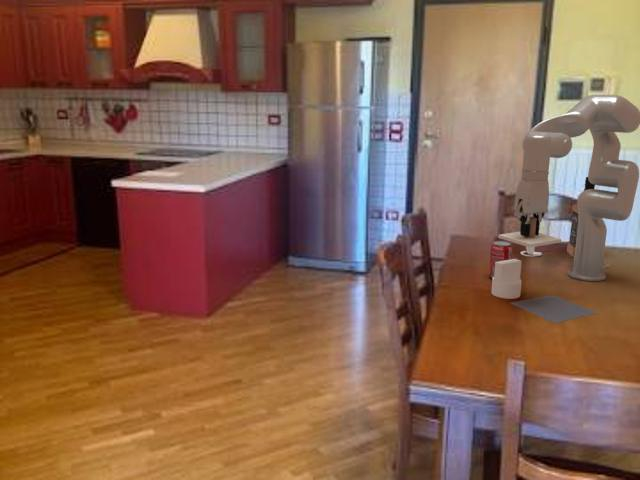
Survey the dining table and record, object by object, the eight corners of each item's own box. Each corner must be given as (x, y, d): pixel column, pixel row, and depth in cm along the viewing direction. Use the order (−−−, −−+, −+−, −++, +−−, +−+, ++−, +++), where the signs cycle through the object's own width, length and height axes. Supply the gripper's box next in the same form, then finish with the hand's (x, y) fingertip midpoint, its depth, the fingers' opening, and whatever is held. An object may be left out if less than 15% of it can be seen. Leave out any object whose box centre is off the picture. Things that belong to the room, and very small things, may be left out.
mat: (551, 297, 193) (551, 294, 193) (598, 316, 177) (598, 312, 177) (509, 306, 185) (509, 303, 185) (554, 326, 170) (554, 322, 169)
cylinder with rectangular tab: (505, 303, 188) (508, 267, 185) (485, 294, 195) (487, 259, 192) (526, 299, 192) (529, 263, 189) (505, 290, 200) (508, 256, 197)
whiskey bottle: (566, 251, 248) (574, 174, 240) (590, 252, 247) (600, 175, 239) (572, 257, 238) (581, 178, 230) (598, 259, 237) (608, 179, 229)
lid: (528, 233, 192) (530, 212, 191) (560, 242, 181) (563, 219, 179) (498, 237, 186) (499, 216, 185) (530, 247, 175) (532, 224, 174)
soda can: (510, 281, 209) (514, 246, 205) (489, 280, 210) (492, 245, 207) (508, 275, 215) (511, 241, 212) (488, 274, 217) (490, 240, 213)
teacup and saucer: (544, 258, 240) (545, 248, 239) (524, 258, 240) (525, 248, 239) (537, 252, 248) (537, 242, 247) (517, 252, 248) (518, 242, 247)
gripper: (544, 172, 186) (538, 229, 190) (505, 176, 178) (500, 235, 183) (564, 175, 179) (557, 234, 184) (524, 179, 172) (519, 241, 177)
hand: (529, 234), depth 183 cm, fingers closed on lid, 3 cm apart
